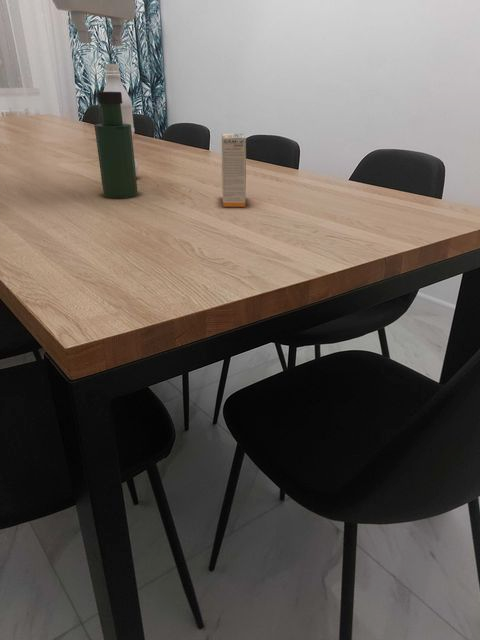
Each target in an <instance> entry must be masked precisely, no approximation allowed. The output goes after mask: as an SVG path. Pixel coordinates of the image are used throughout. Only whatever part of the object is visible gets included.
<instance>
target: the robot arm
mask: <svg viewBox="0 0 480 640" xmlns="http://www.w3.org/2000/svg"><path fill="white" fill-rule="evenodd" d="M52 3H53V4H54V6H55V8H56V9H57V10H58V11H63V12H64V11H65V12H69V13H70V19H71V22H72V24H73V26H74V28H75V30H76V31H77V36H78V37H77V38H78V41H79V43H81V44H92V42H93V39H92V32H91V31H89V30H88V27H87V24H86V22H85V21H86V20H87V16H86V15H88V16H94V17H99V18H106V19H110V25H111V26H112V31H111V34H110V35H109V40H110V41H109V43H110V46H114V47H122V45H123V37H122V36H123V32H124V30H125V29H124V28H125V21H133V20H135V17H136V5H135V4H136V3H135V0H52Z"/></svg>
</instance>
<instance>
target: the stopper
mask: <svg viewBox="0 0 480 640" xmlns="http://www.w3.org/2000/svg"><path fill="white" fill-rule="evenodd" d="M96 94H97V101H98V104H99V105H100V104H122V94H121V92H103V91H97V93H96Z"/></svg>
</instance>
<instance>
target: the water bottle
mask: <svg viewBox="0 0 480 640" xmlns="http://www.w3.org/2000/svg"><path fill="white" fill-rule="evenodd" d="M104 65H105V66H104V67H105V74H104V76H105V79H106V80H105V85H104V89H103V91H102V92H121V94H122V104H121V111H122V121H123V124H130V125H131V131H132V141H134V135H135V125H134V115H133V104H132V100H131V97H130V95H129V94H128V91H127V90H126V88H125V86H124V85H123V82H122V79H121V77H122V74H121V72H120V65H119V63H104ZM134 160H135V170H136V178H137V176H138V174H139V164H138V162H137V160H136V157H135V156H134Z"/></svg>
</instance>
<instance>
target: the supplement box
mask: <svg viewBox="0 0 480 640" xmlns="http://www.w3.org/2000/svg"><path fill="white" fill-rule="evenodd" d="M221 187H222V189H221V191H222V194H221V195H222V206H223V207H225V208H226V207H227V208H235V207H236V208H240V207H242V208H245V207H246V203H247V201H246V200H247V199H246V198H247V197H246V193H247V192H246V189H247V139H246V135H245V134H244V133H221Z"/></svg>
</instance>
